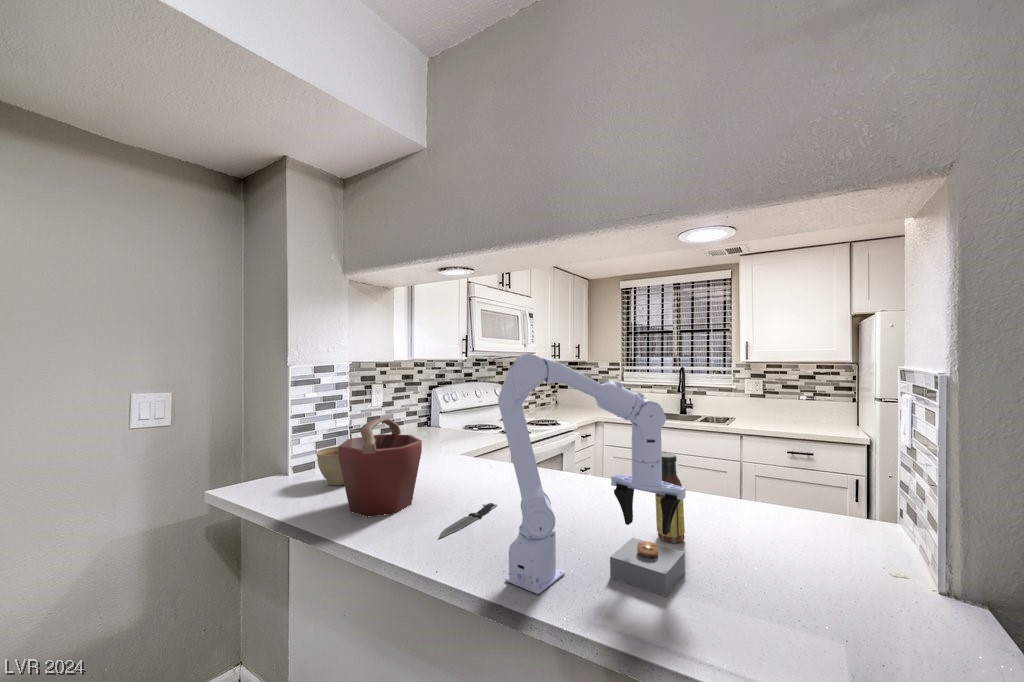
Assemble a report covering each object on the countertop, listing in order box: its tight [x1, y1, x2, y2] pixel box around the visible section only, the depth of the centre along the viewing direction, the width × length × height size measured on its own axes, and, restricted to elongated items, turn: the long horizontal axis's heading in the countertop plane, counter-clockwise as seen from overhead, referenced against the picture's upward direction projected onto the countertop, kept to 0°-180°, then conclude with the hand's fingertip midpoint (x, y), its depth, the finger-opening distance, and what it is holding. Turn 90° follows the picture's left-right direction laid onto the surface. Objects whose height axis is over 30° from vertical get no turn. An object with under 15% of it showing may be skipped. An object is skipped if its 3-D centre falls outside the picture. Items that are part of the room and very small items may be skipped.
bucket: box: [338, 417, 423, 518], centre depth 127 cm, size 24×22×25 cm
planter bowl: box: [316, 445, 345, 486], centre depth 150 cm, size 16×16×11 cm
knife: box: [438, 502, 498, 539], centre depth 115 cm, size 26×1×5 cm
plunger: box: [637, 540, 658, 559], centre depth 87 cm, size 4×4×6 cm
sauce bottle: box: [654, 452, 686, 544], centre depth 103 cm, size 6×6×20 cm
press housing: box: [609, 537, 686, 597], centre depth 87 cm, size 11×11×4 cm
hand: (647, 527), depth 87 cm, fingers open, 7 cm apart
